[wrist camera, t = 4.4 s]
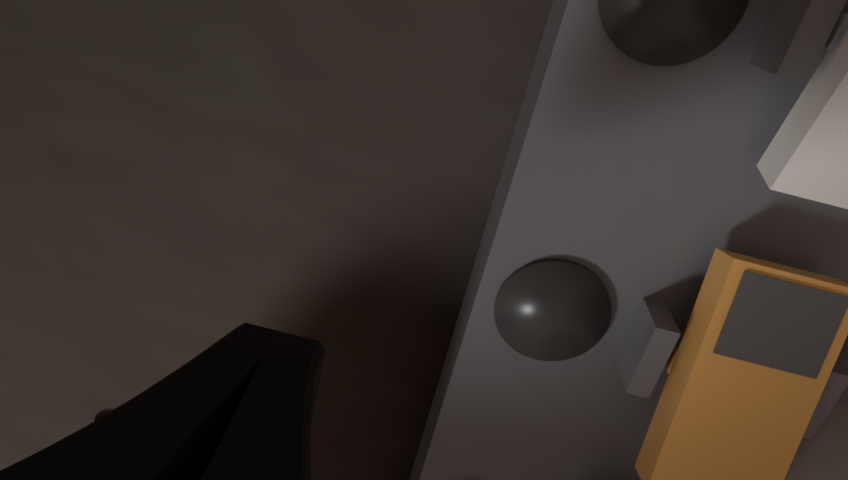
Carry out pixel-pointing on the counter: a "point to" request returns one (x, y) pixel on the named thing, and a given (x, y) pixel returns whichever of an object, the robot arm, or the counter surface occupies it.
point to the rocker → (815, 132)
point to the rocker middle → (746, 372)
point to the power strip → (624, 229)
